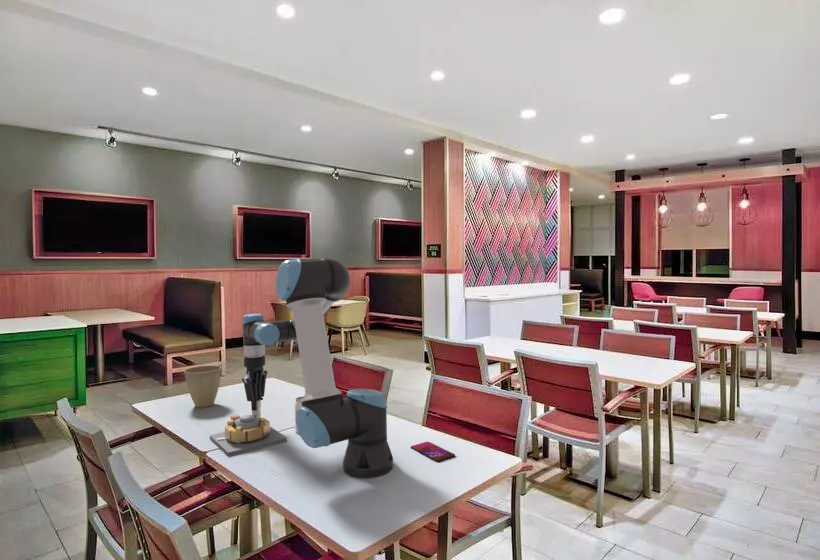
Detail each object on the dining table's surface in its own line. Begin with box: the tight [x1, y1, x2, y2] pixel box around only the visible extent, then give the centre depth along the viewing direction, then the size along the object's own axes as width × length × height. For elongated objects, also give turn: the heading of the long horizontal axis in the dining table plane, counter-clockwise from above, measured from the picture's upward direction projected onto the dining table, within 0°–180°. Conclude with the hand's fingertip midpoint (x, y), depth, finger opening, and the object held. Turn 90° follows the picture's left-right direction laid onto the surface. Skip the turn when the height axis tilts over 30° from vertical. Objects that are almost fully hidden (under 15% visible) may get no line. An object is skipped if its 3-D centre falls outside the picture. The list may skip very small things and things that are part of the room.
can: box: [294, 396, 304, 434], centre depth 179 cm, size 6×6×12 cm
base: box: [209, 414, 288, 457], centre depth 171 cm, size 20×20×8 cm
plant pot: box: [183, 364, 222, 408], centre depth 213 cm, size 15×15×16 cm
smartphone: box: [410, 441, 456, 463], centre depth 158 cm, size 8×1×15 cm
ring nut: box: [224, 414, 271, 442], centre depth 174 cm, size 21×14×4 cm, turn 38°
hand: (256, 417), depth 184 cm, fingers closed
